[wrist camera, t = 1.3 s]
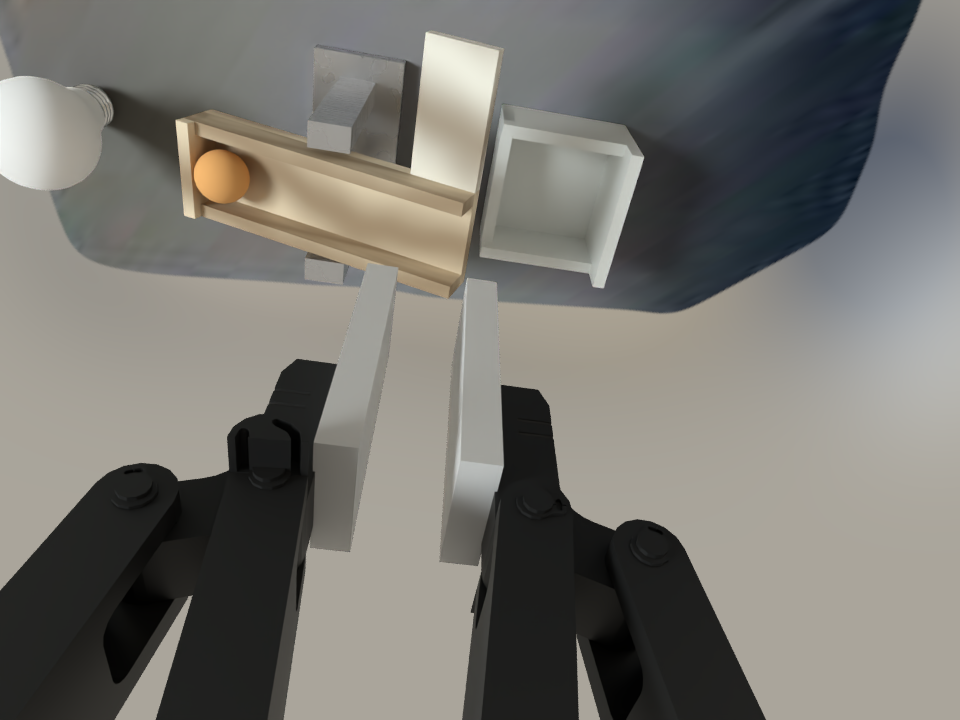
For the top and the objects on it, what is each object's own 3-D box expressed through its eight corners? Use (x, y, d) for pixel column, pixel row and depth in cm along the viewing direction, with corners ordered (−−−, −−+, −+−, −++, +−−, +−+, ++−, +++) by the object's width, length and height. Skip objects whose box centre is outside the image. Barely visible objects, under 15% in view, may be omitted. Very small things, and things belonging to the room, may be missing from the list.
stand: (317, 44, 45) (274, 86, 36) (405, 60, 46) (386, 105, 36) (312, 222, 53) (276, 295, 43) (389, 234, 53) (369, 308, 44)
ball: (217, 138, 42) (179, 149, 39) (260, 152, 41) (224, 165, 39) (220, 187, 44) (184, 201, 41) (261, 201, 43) (227, 217, 40)
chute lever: (215, -29, 38) (162, -26, 35) (510, 46, 35) (482, 57, 31) (226, 198, 46) (184, 218, 43) (468, 277, 43) (443, 305, 39)
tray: (502, 103, 47) (504, 133, 42) (625, 125, 48) (644, 157, 43) (479, 228, 53) (479, 269, 47) (590, 245, 54) (603, 288, 48)
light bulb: (35, 109, 48) (-68, 161, 39) (67, 29, 45) (-37, 65, 36) (125, 166, 50) (48, 227, 41) (162, 94, 47) (87, 142, 38)
